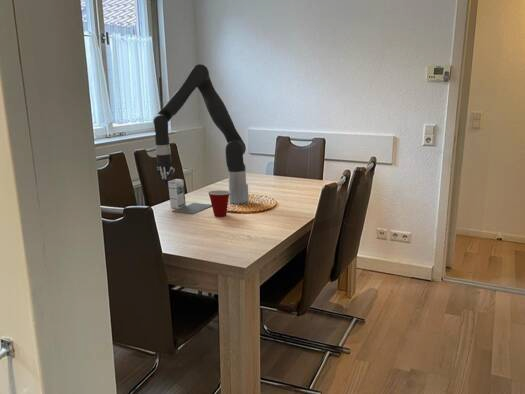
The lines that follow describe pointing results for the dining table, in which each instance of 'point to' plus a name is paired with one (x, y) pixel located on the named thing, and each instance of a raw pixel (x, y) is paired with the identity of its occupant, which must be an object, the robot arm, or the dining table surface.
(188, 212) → the charcoal placemat
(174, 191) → the syrup box
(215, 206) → the plastic cup
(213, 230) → the dining table surface
